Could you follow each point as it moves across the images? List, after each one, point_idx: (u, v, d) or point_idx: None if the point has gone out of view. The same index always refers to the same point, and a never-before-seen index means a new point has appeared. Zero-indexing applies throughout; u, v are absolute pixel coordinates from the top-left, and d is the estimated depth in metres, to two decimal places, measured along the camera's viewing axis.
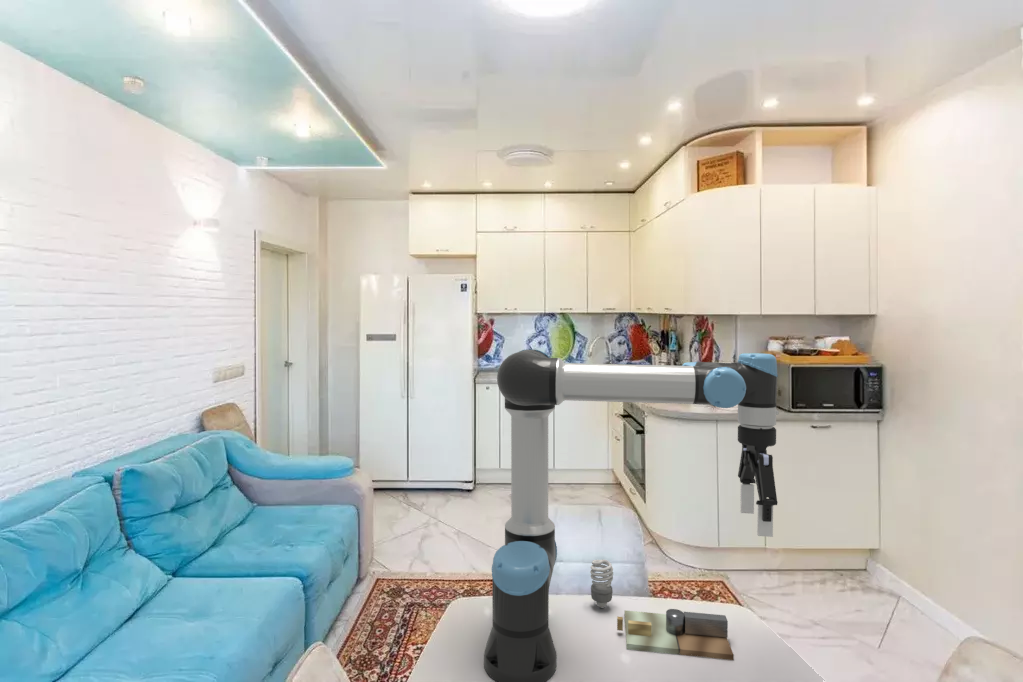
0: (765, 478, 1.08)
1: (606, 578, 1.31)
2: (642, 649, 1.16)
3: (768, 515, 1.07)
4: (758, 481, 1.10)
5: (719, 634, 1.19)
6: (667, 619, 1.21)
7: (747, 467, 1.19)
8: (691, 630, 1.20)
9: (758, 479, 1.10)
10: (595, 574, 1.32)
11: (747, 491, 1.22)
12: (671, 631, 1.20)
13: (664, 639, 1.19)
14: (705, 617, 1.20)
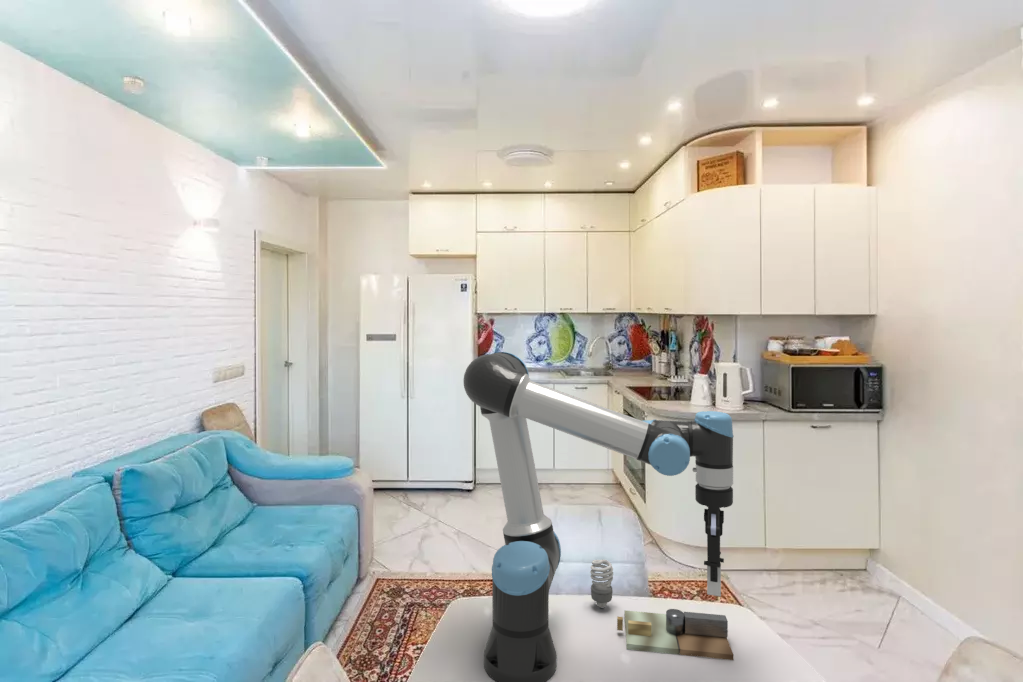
0: None
1: (606, 578, 1.31)
2: (642, 649, 1.16)
3: None
4: None
5: (719, 634, 1.19)
6: (667, 619, 1.21)
7: None
8: (691, 630, 1.20)
9: None
10: (595, 574, 1.32)
11: None
12: (671, 631, 1.20)
13: (664, 639, 1.19)
14: (705, 617, 1.20)
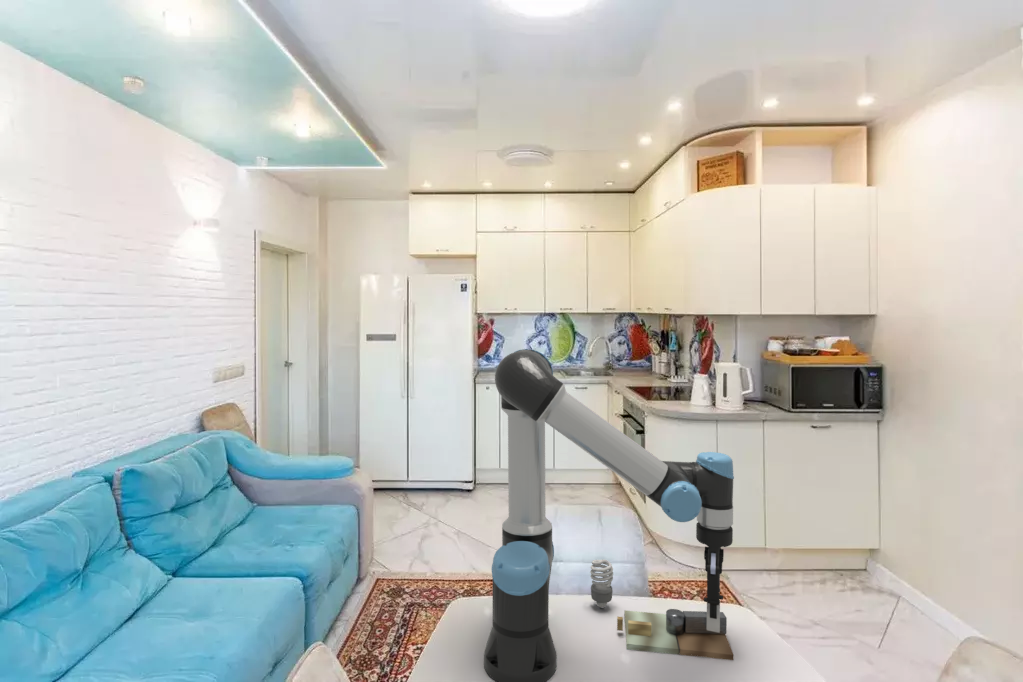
0: None
1: (606, 578, 1.31)
2: (642, 649, 1.16)
3: None
4: None
5: None
6: (668, 620, 1.21)
7: None
8: (691, 629, 1.21)
9: None
10: (595, 574, 1.32)
11: None
12: (672, 631, 1.20)
13: (664, 639, 1.19)
14: (705, 615, 1.21)
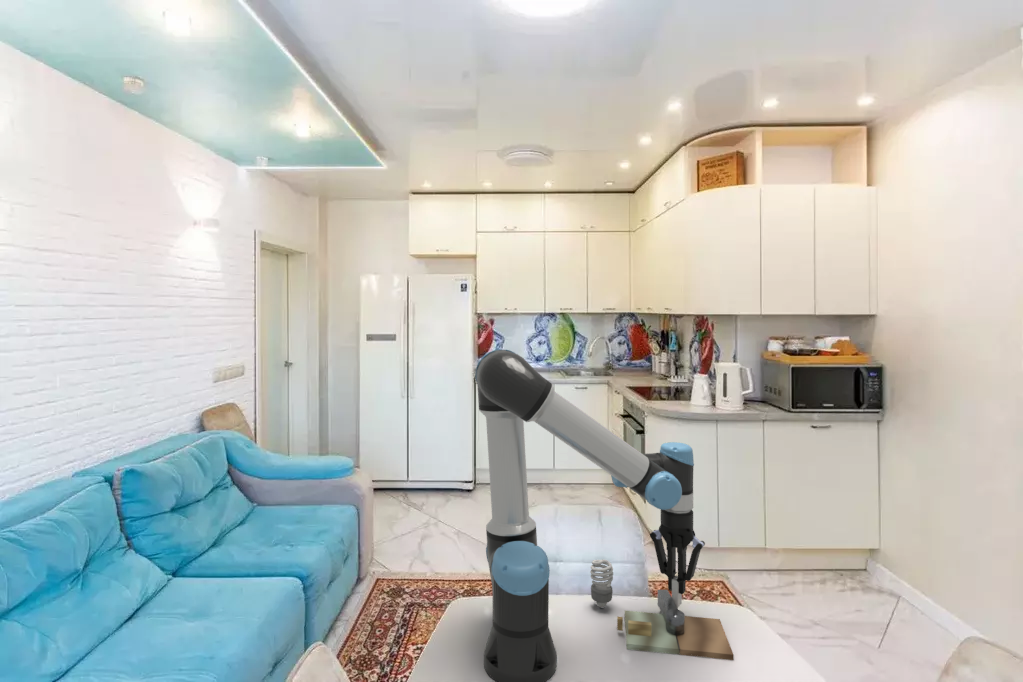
0: None
1: (606, 578, 1.31)
2: (642, 649, 1.16)
3: None
4: None
5: None
6: (681, 622, 1.20)
7: None
8: None
9: None
10: (595, 574, 1.32)
11: None
12: None
13: (664, 639, 1.19)
14: (670, 598, 1.28)
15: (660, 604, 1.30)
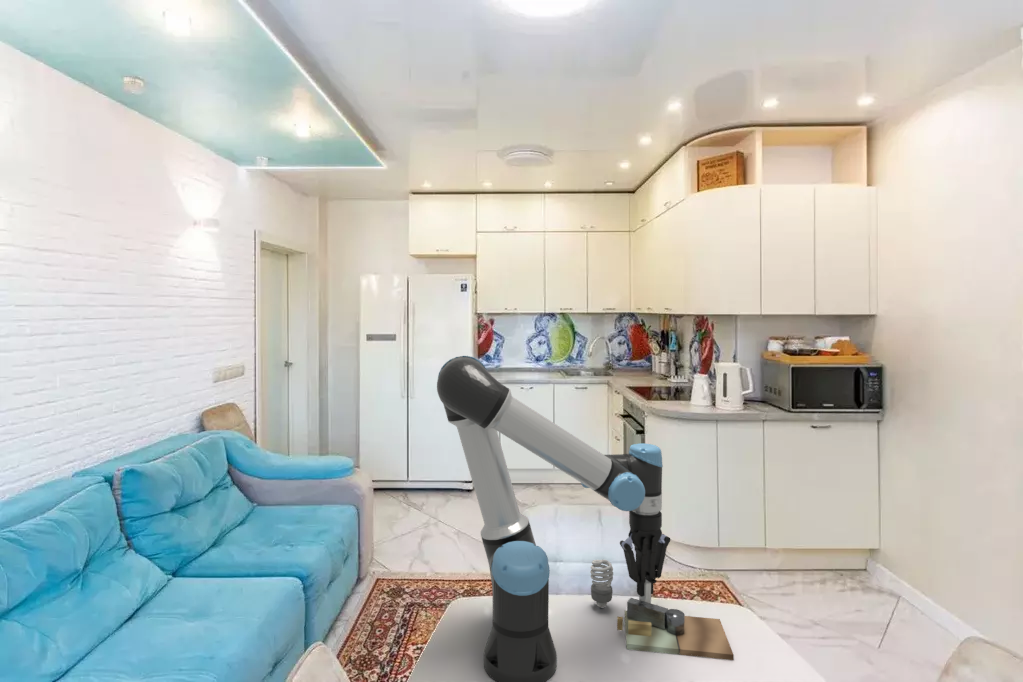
0: (627, 560, 1.27)
1: (606, 578, 1.31)
2: (642, 649, 1.16)
3: (638, 590, 1.28)
4: (636, 560, 1.28)
5: None
6: None
7: None
8: None
9: (636, 559, 1.28)
10: (595, 574, 1.32)
11: None
12: None
13: (664, 639, 1.19)
14: (648, 603, 1.26)
15: (638, 614, 1.25)
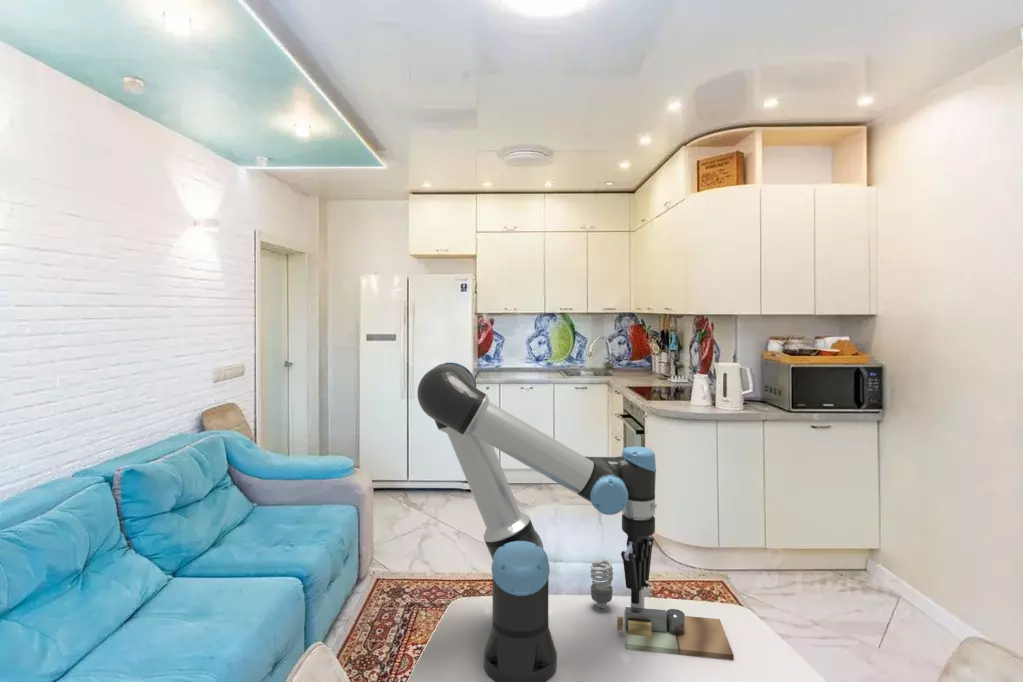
0: (627, 570, 1.22)
1: (606, 578, 1.31)
2: (642, 649, 1.16)
3: (634, 598, 1.24)
4: None
5: None
6: None
7: None
8: None
9: None
10: (595, 574, 1.32)
11: None
12: None
13: (664, 639, 1.19)
14: (645, 609, 1.23)
15: None
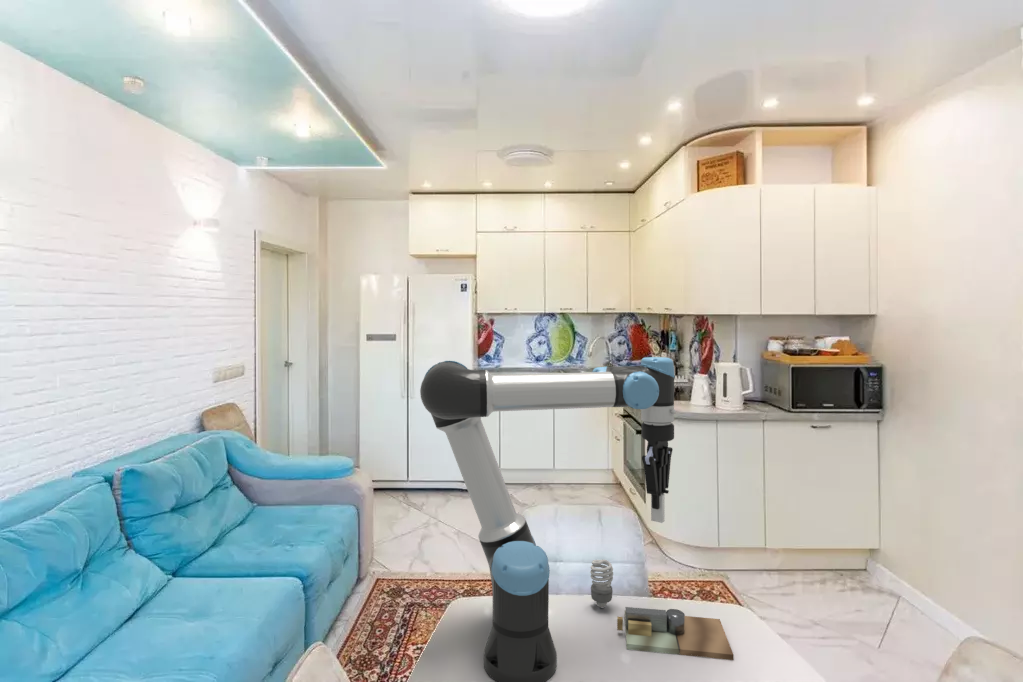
0: (647, 475, 1.24)
1: (606, 578, 1.31)
2: (642, 649, 1.16)
3: (655, 503, 1.27)
4: None
5: None
6: None
7: None
8: None
9: None
10: (595, 574, 1.32)
11: None
12: None
13: (664, 639, 1.19)
14: (645, 609, 1.23)
15: None
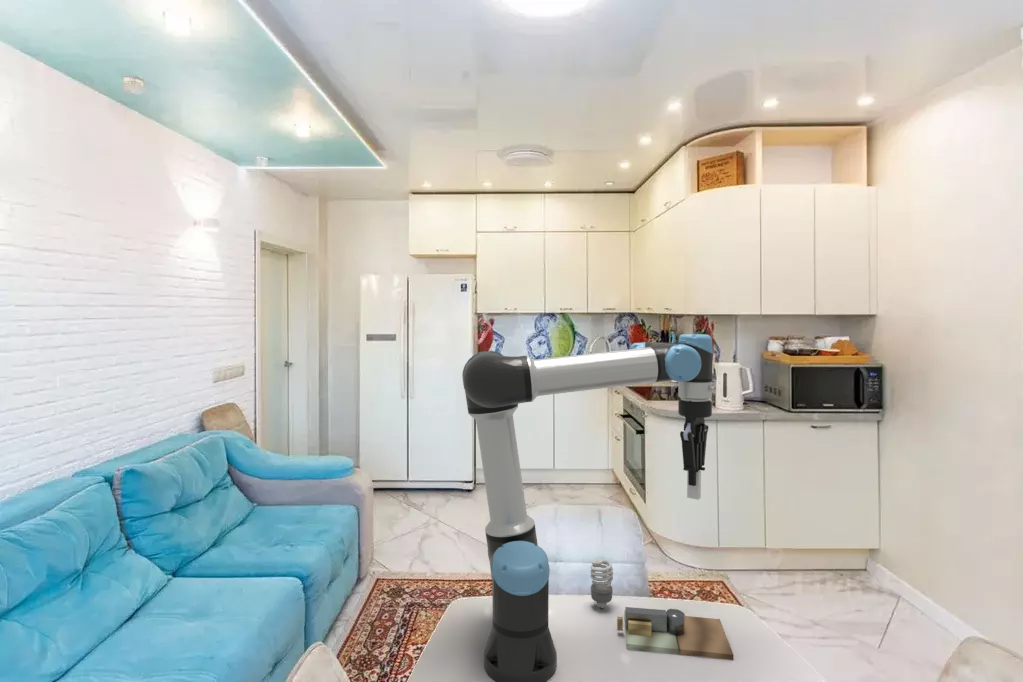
0: (685, 451, 1.24)
1: (606, 578, 1.31)
2: (642, 649, 1.16)
3: (692, 480, 1.26)
4: None
5: None
6: None
7: None
8: None
9: None
10: (595, 574, 1.32)
11: None
12: None
13: (664, 639, 1.19)
14: (645, 609, 1.23)
15: None
